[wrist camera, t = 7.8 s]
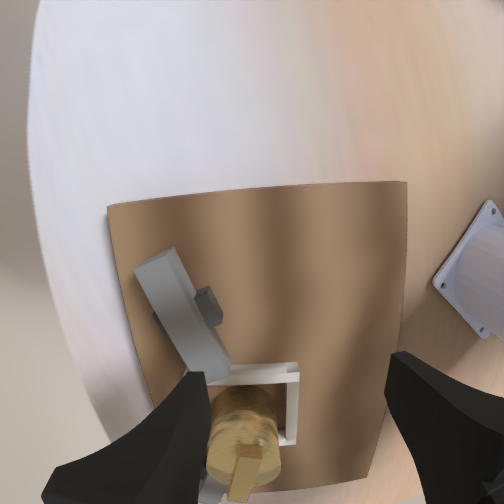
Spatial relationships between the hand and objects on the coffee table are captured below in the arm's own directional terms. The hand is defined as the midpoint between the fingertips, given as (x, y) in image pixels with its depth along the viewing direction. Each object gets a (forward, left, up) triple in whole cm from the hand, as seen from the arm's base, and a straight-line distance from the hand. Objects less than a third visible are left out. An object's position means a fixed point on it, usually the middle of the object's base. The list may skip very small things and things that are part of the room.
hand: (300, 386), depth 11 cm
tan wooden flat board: (-4, +6, -9) cm, 12 cm away
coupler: (-3, +8, -8) cm, 12 cm away
